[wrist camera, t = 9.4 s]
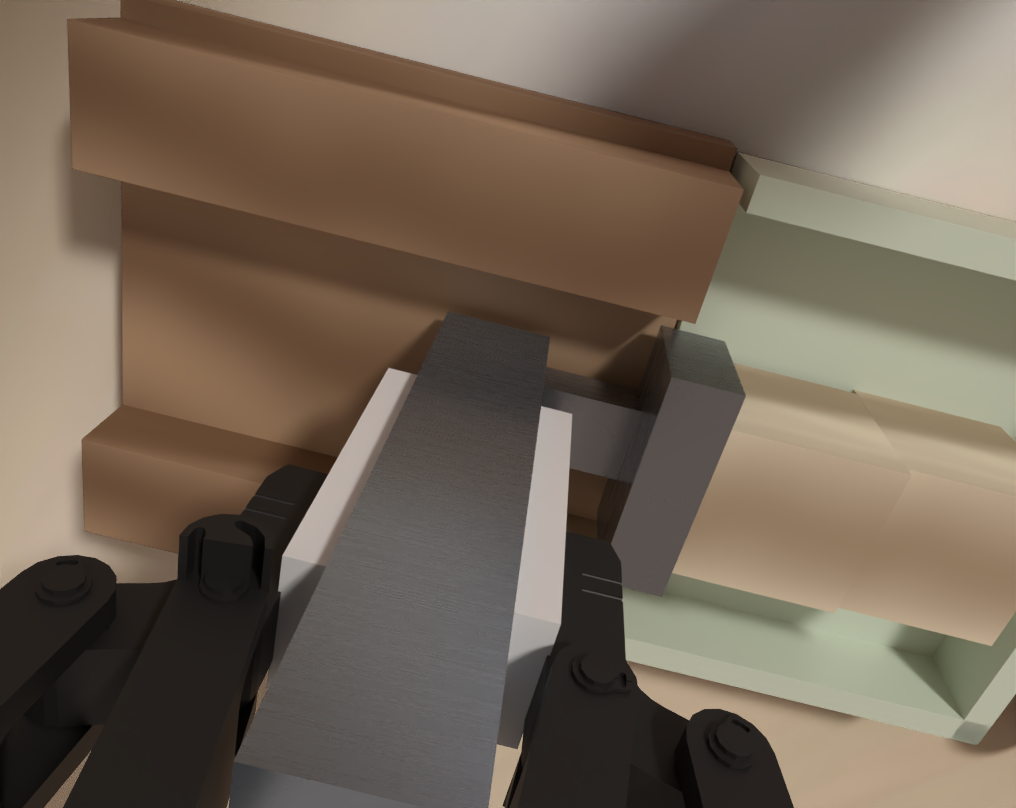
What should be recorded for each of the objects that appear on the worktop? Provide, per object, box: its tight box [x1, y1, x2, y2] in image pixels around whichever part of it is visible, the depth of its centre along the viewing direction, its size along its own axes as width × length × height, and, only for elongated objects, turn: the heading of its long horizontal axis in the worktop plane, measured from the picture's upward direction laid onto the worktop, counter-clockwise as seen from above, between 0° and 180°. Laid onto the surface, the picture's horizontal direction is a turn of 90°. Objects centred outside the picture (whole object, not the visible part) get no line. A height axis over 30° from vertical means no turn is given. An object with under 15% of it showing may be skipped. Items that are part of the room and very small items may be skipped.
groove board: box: [67, 0, 744, 554], centre depth 20 cm, size 14×14×3 cm
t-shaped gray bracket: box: [229, 311, 746, 808], centre depth 15 cm, size 6×7×13 cm
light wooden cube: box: [838, 390, 1016, 646], centre depth 20 cm, size 4×4×4 cm
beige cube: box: [672, 363, 912, 613], centre depth 20 cm, size 4×4×4 cm
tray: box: [622, 152, 1016, 745], centre depth 21 cm, size 14×12×3 cm
